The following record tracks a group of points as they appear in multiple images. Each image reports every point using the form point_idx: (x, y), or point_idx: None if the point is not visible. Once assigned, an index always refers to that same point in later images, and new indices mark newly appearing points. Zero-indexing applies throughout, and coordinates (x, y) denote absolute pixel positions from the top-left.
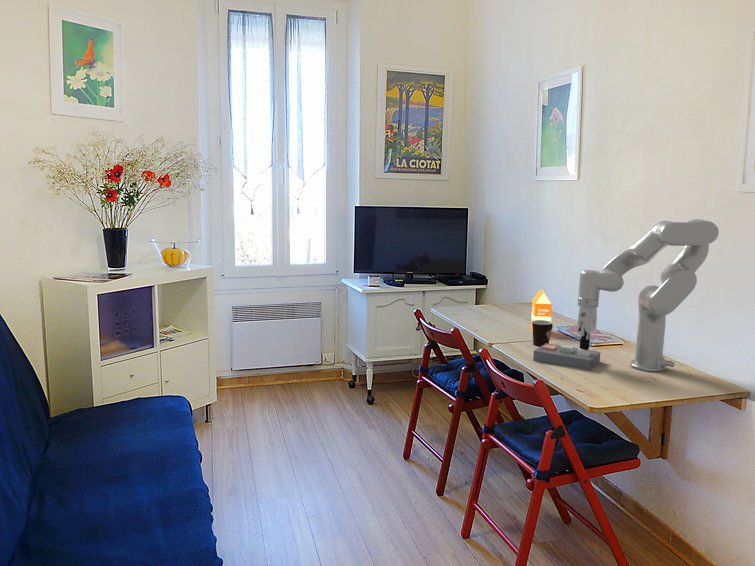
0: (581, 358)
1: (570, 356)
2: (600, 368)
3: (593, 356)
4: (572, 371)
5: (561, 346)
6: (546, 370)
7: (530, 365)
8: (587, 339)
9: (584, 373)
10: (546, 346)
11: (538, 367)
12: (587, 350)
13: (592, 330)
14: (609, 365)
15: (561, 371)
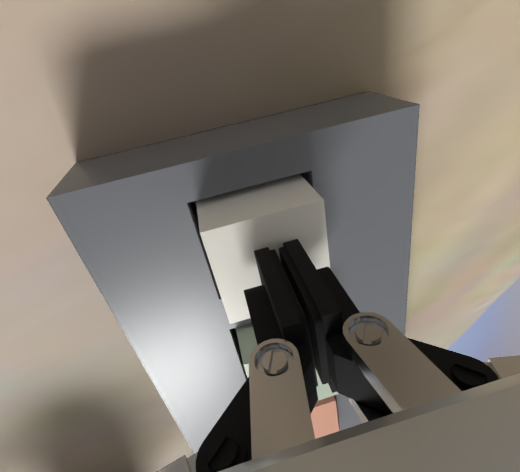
0: (404, 188)
1: (395, 266)
2: (250, 55)
3: (270, 154)
4: (446, 163)
5: (327, 393)
6: (493, 257)
7: (450, 336)
8: (373, 316)
9: (451, 82)
10: (316, 437)
11: (463, 303)
12: (298, 232)
13: (479, 439)
14: (91, 37)
15: (476, 204)
